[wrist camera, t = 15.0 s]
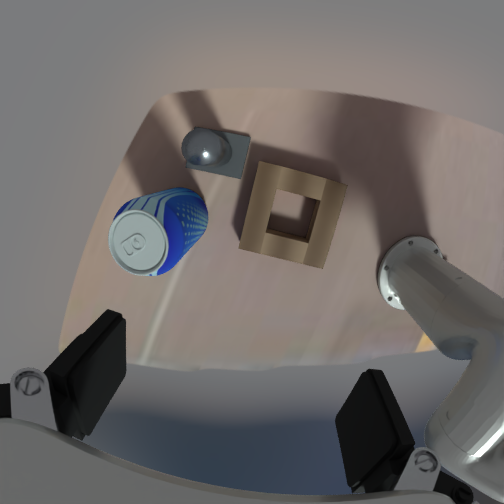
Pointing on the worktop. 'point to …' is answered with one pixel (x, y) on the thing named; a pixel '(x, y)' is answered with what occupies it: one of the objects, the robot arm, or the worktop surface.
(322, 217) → the pocket block
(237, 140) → the mat
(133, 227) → the beer can
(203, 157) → the rod
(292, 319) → the worktop surface
